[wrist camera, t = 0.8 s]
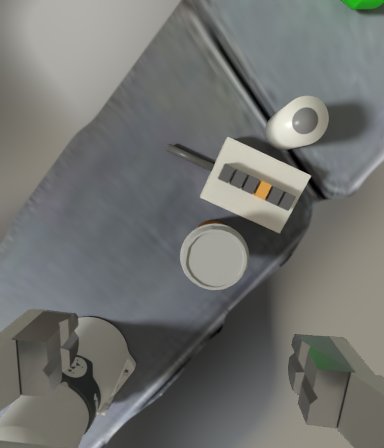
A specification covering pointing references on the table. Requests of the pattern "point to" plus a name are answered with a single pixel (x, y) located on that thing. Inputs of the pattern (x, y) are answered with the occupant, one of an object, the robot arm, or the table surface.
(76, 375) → the robot arm
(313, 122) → the white hollow cylinder
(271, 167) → the power strip
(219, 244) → the disposable coffee cup
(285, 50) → the table surface
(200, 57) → the table surface
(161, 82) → the table surface
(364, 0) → the plastic bottle
